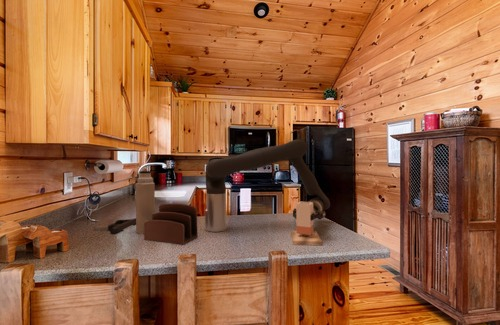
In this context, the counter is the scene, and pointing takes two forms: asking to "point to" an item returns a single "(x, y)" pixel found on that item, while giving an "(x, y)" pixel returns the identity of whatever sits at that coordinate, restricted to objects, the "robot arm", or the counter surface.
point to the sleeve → (304, 218)
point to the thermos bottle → (144, 200)
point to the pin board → (305, 238)
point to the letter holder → (172, 224)
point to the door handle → (118, 226)
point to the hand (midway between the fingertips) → (303, 217)
